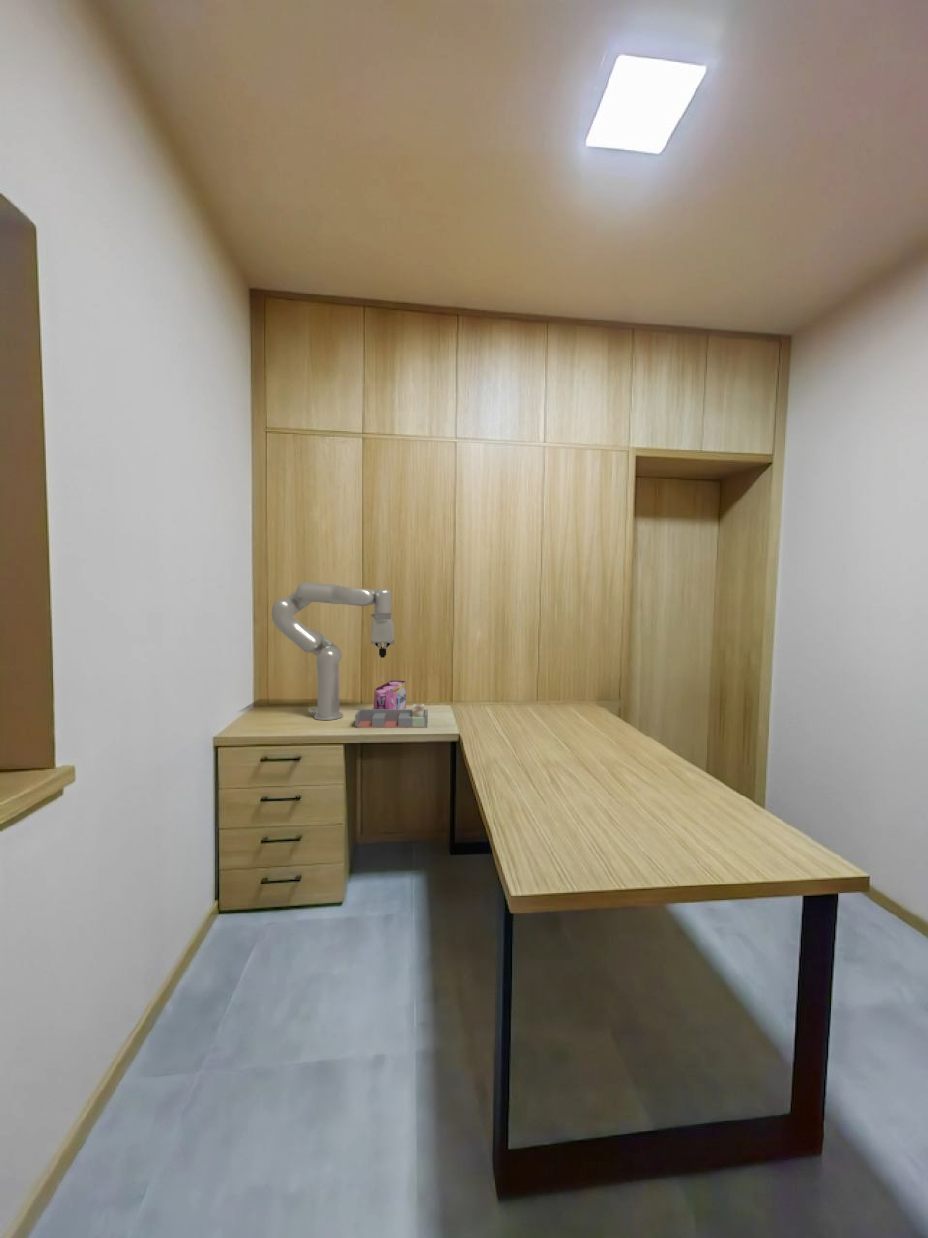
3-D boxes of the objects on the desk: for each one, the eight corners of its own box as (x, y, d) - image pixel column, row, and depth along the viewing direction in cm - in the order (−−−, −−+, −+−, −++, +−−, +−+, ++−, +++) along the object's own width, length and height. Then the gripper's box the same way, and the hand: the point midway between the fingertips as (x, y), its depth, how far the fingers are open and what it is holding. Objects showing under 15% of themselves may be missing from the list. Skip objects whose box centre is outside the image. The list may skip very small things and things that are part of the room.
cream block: (412, 717, 208) (412, 706, 207) (413, 714, 212) (413, 704, 212) (423, 717, 208) (423, 706, 207) (424, 714, 212) (424, 704, 212)
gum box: (388, 721, 215) (388, 690, 214) (371, 720, 217) (371, 689, 216) (406, 708, 239) (406, 680, 238) (391, 707, 240) (391, 679, 239)
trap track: (355, 727, 205) (355, 714, 204) (359, 721, 214) (359, 709, 213) (426, 727, 206) (427, 714, 206) (427, 721, 215) (427, 709, 215)
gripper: (364, 617, 217) (364, 658, 218) (398, 617, 217) (398, 658, 218) (367, 616, 224) (367, 656, 225) (400, 616, 225) (399, 656, 226)
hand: (382, 657), depth 222 cm, fingers closed
